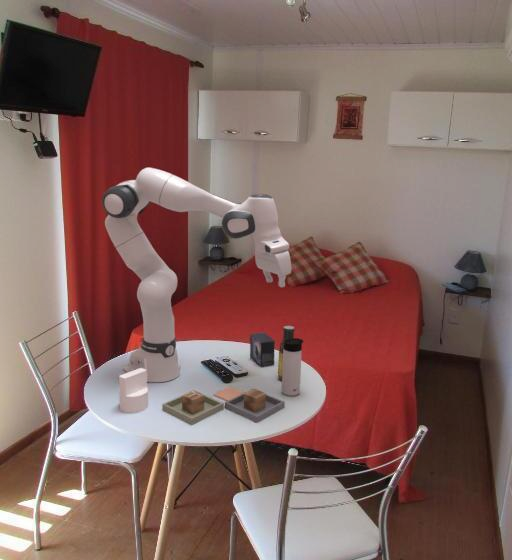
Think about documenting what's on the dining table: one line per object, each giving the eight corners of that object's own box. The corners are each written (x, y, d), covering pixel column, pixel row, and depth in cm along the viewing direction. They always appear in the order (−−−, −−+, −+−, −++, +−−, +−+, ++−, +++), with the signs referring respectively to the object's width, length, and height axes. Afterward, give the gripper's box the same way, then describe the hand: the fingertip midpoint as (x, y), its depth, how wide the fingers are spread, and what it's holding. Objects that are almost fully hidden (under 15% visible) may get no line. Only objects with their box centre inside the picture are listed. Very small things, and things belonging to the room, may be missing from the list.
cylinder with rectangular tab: (136, 398, 175) (135, 365, 172) (154, 407, 169) (153, 372, 167) (114, 407, 168) (112, 373, 165) (131, 417, 163) (130, 381, 160)
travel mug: (299, 399, 178) (302, 343, 173) (280, 396, 179) (282, 341, 174) (301, 391, 183) (304, 337, 179) (282, 389, 185) (285, 335, 180)
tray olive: (162, 411, 167) (162, 404, 166) (194, 396, 177) (194, 390, 176) (191, 426, 158) (191, 418, 158) (223, 410, 168) (223, 403, 168)
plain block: (243, 407, 169) (244, 393, 168) (253, 402, 173) (254, 388, 172) (255, 412, 166) (255, 398, 165) (265, 407, 170) (265, 393, 169)
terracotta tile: (213, 396, 178) (213, 393, 177) (229, 389, 184) (229, 386, 183) (230, 404, 173) (230, 401, 172) (246, 396, 179) (246, 393, 178)
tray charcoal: (224, 409, 169) (224, 402, 168) (252, 395, 179) (252, 388, 179) (256, 424, 160) (257, 416, 160) (284, 408, 171) (284, 401, 170)
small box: (248, 358, 212) (249, 333, 209) (263, 355, 215) (263, 331, 212) (259, 367, 203) (260, 342, 200) (274, 365, 205) (275, 340, 203)
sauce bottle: (288, 383, 189) (290, 331, 184) (274, 379, 193) (276, 327, 188) (298, 377, 194) (300, 327, 189) (284, 373, 198) (286, 323, 193)
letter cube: (182, 409, 167) (182, 394, 166) (193, 404, 171) (193, 389, 170) (192, 414, 164) (192, 399, 163) (204, 409, 168) (204, 394, 166)
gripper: (247, 242, 178) (254, 281, 181) (273, 249, 159) (280, 292, 163) (264, 238, 180) (271, 277, 183) (291, 244, 161) (298, 286, 165)
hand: (275, 284), depth 173 cm, fingers open, 8 cm apart
